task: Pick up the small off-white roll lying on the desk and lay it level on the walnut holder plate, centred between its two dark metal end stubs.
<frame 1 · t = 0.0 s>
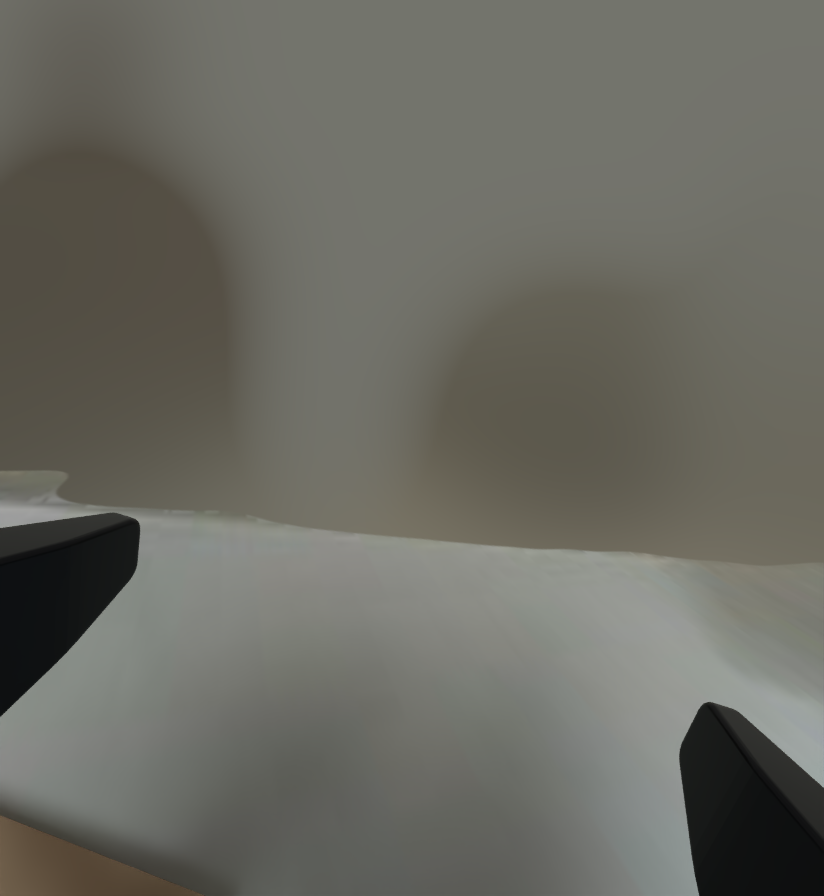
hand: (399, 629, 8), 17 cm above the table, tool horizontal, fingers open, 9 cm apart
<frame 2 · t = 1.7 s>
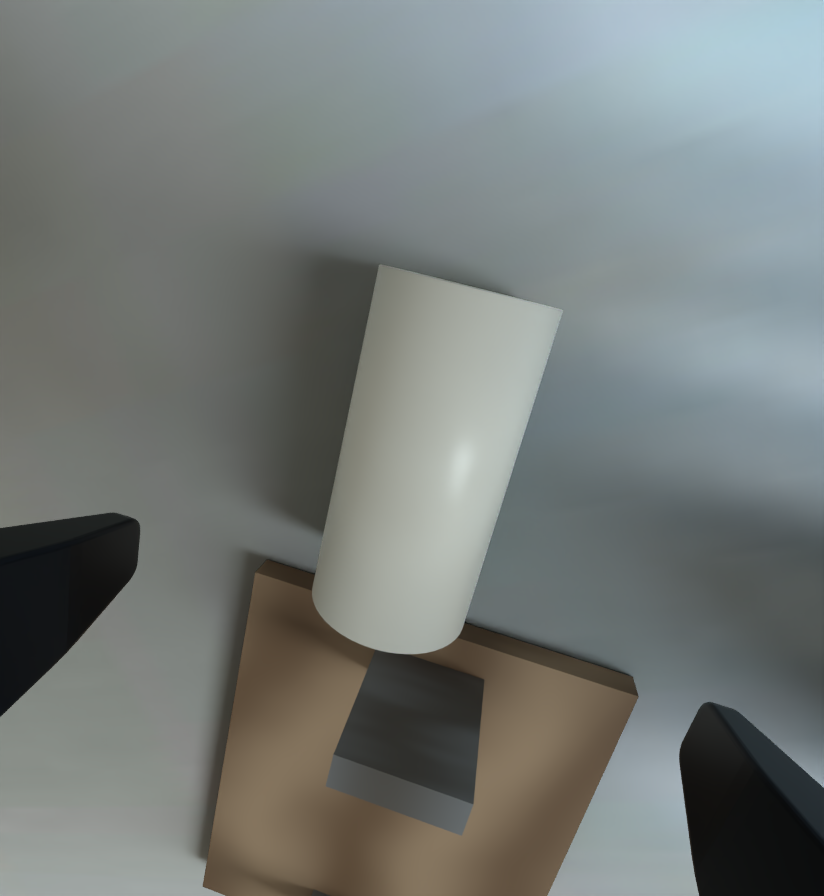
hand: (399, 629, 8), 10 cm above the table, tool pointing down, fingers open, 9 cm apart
roll holder: (392, 784, 23), on the table
roll: (463, 445, 18), on the table, tilted 21°
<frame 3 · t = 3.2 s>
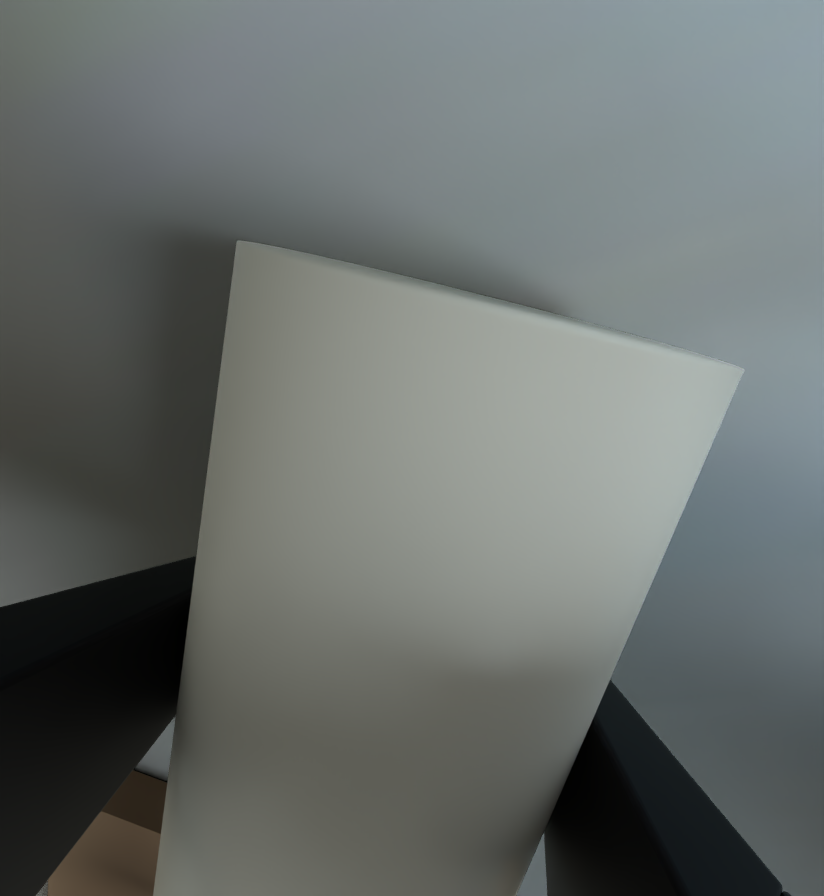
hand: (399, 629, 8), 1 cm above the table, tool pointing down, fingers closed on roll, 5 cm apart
roll: (414, 582, 10), on the table, touching gripper
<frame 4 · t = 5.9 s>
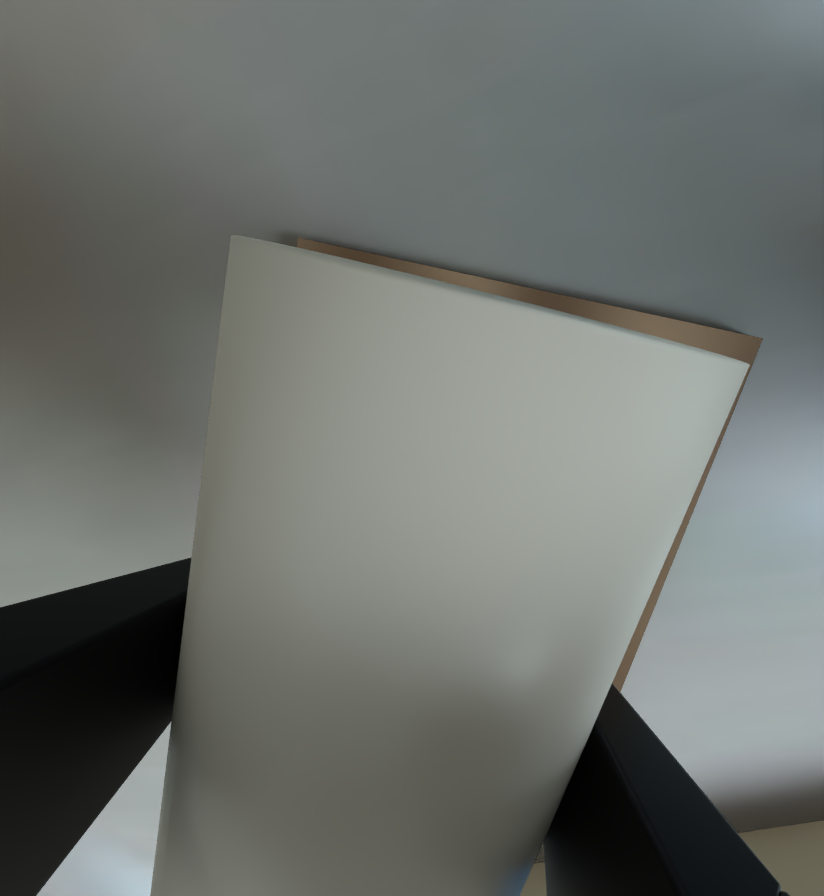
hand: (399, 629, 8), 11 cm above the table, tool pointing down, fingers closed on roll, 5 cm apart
roll holder: (456, 525, 20), on the table
roll: (415, 583, 10), point 10 cm above the table, touching gripper
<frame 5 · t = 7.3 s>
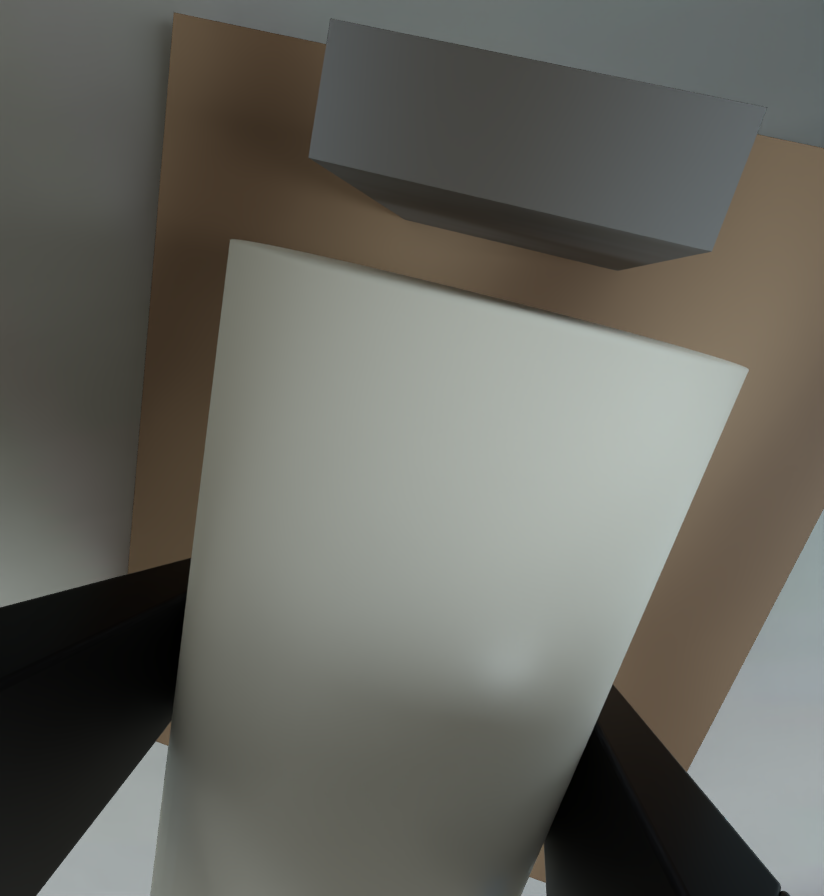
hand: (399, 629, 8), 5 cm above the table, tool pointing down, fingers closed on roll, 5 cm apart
roll holder: (436, 513, 13), on the table
roll: (415, 585, 10), point 3 cm above the table, touching gripper
when the fingers open (3 cm above the table, at t = 8.5 s): roll stays where it is, resting on roll holder.
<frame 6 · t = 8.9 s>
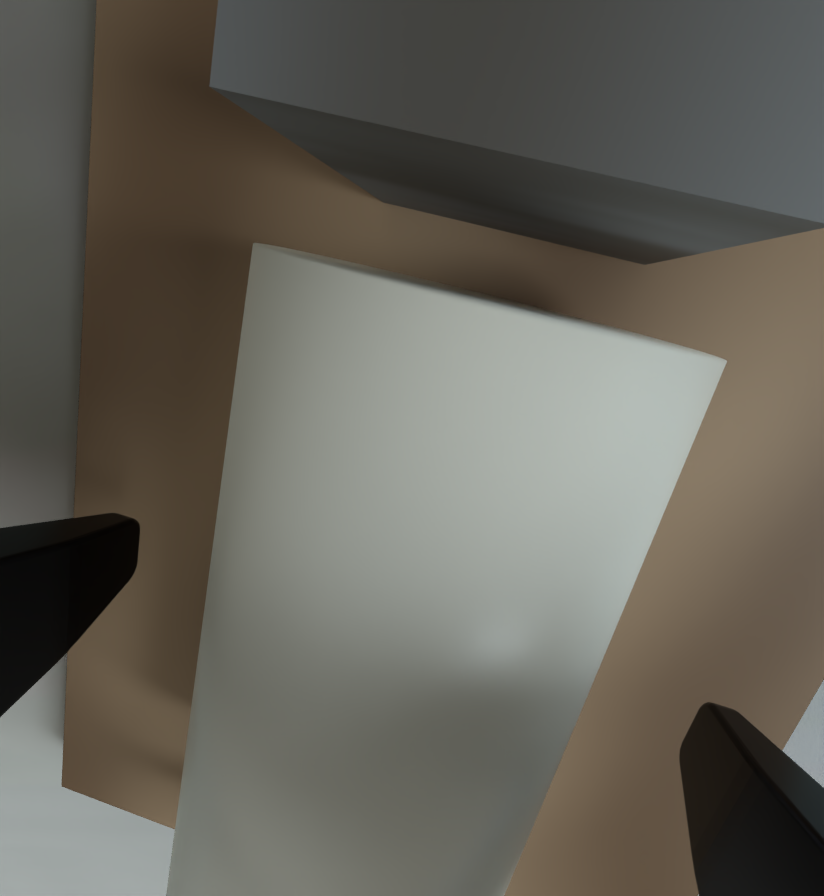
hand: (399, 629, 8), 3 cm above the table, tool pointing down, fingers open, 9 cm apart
roll holder: (425, 551, 11), on the table
roll: (420, 573, 10), point 1 cm above the table, touching roll holder
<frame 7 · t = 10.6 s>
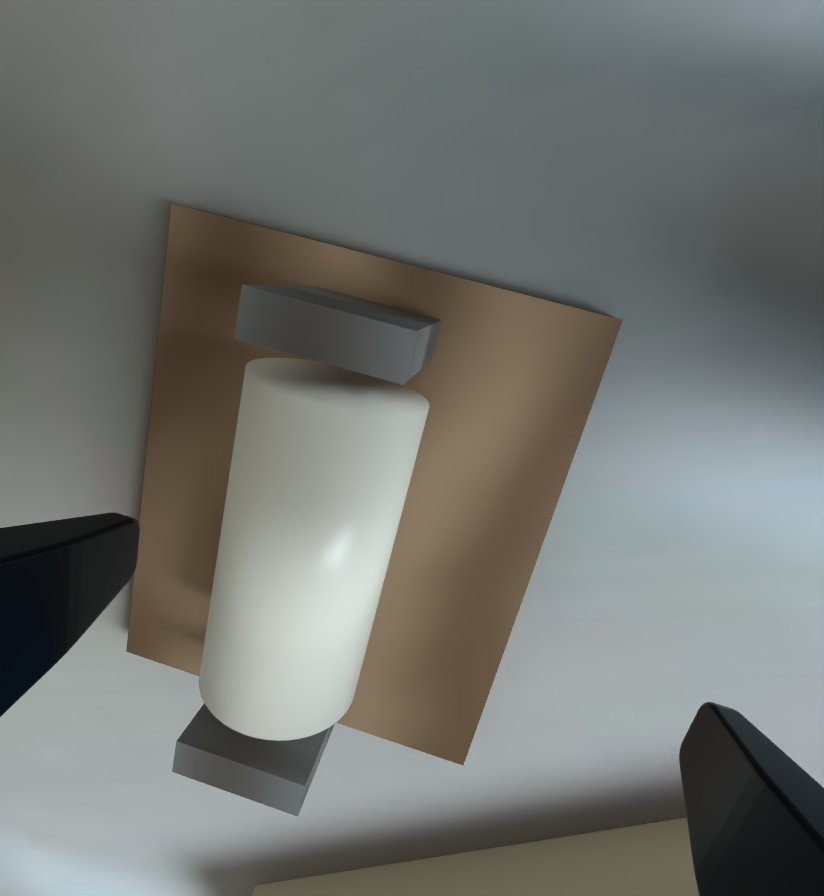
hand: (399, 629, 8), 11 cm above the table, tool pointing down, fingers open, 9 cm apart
roll holder: (340, 503, 20), on the table
roll: (334, 512, 19), point 1 cm above the table, touching roll holder
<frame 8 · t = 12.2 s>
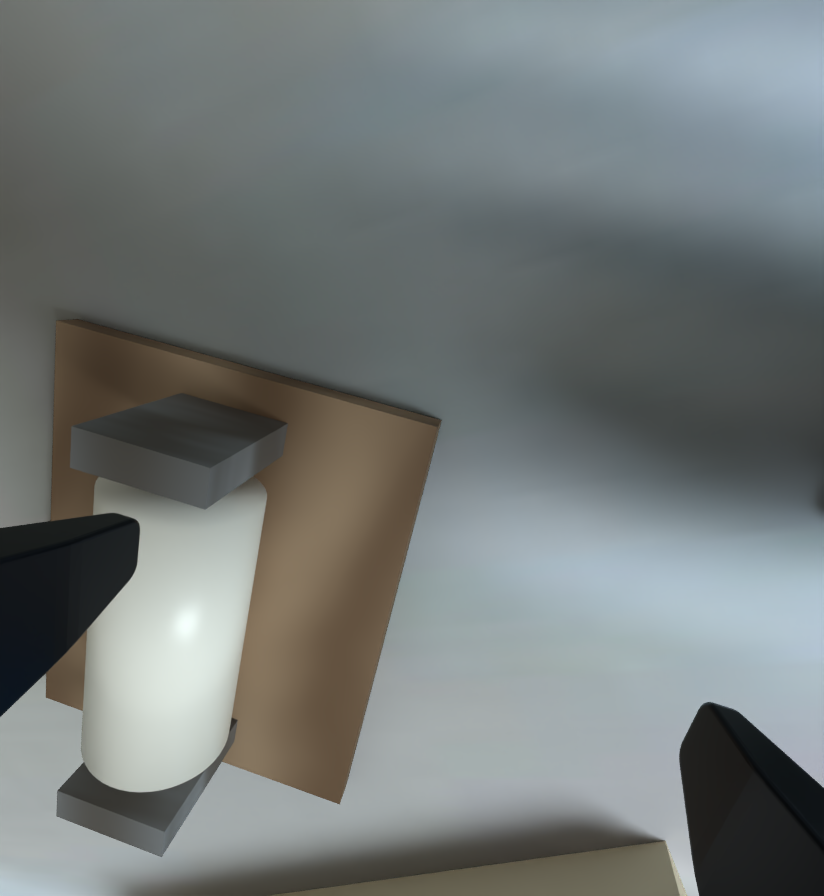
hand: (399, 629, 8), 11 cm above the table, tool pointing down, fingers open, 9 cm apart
roll holder: (223, 571, 22), on the table
roll: (211, 582, 21), point 1 cm above the table, touching roll holder
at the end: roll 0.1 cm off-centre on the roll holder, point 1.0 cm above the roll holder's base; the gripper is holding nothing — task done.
